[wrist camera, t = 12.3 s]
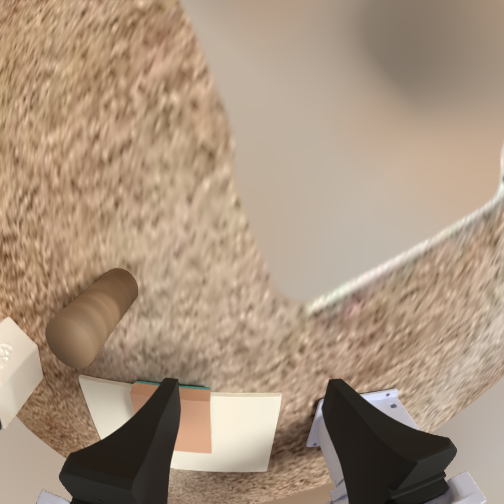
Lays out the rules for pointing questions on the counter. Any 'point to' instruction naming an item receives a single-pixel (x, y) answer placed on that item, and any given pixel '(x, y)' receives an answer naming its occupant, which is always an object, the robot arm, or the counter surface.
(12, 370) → the jar
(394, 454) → the robot arm
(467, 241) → the counter surface
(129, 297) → the pestle
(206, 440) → the tile
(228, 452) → the board
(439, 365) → the counter surface
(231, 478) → the counter surface
